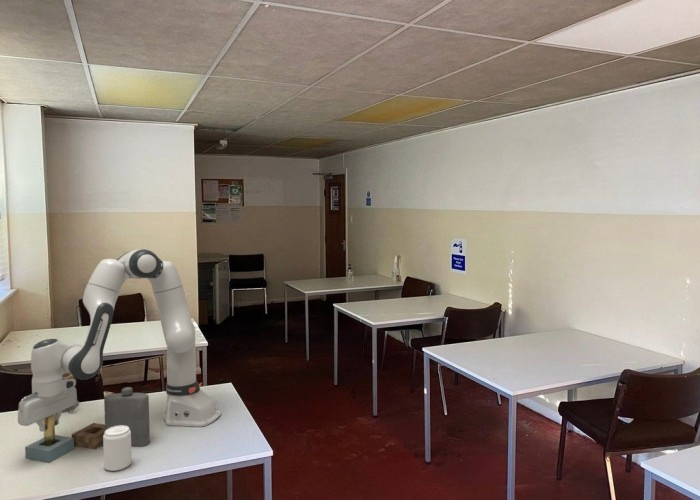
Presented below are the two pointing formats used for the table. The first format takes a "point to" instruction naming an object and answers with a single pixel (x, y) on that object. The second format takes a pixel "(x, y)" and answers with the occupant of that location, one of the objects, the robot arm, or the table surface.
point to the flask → (129, 414)
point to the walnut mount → (90, 436)
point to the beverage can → (117, 448)
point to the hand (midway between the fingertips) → (49, 427)
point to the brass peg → (49, 431)
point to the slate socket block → (49, 449)
